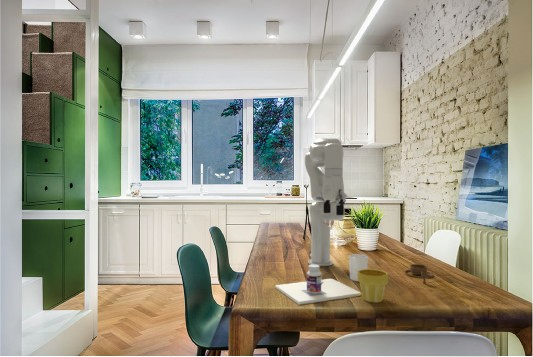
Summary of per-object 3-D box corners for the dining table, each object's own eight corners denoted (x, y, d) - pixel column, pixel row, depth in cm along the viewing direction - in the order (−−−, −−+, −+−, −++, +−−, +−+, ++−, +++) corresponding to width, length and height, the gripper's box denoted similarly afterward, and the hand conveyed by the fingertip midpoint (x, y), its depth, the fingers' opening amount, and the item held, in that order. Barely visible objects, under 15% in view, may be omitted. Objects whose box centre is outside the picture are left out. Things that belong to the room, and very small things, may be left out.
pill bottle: (303, 291, 131) (303, 265, 131) (312, 288, 135) (312, 263, 135) (315, 295, 127) (315, 268, 127) (324, 292, 131) (324, 265, 131)
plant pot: (364, 293, 133) (364, 267, 133) (392, 299, 127) (392, 271, 127) (352, 300, 125) (352, 272, 125) (381, 307, 119) (381, 277, 119)
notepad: (275, 287, 139) (275, 285, 139) (331, 280, 149) (331, 278, 149) (298, 304, 121) (298, 301, 121) (361, 295, 130) (361, 292, 130)
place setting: (444, 278, 157) (444, 264, 157) (428, 288, 142) (428, 273, 142) (405, 270, 169) (405, 258, 169) (386, 279, 154) (386, 265, 154)
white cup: (354, 282, 147) (354, 258, 147) (345, 277, 154) (345, 254, 154) (371, 281, 149) (371, 257, 149) (361, 276, 156) (361, 253, 156)
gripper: (315, 173, 155) (315, 212, 155) (337, 172, 139) (337, 216, 139) (329, 173, 157) (329, 211, 157) (353, 173, 141) (353, 215, 141)
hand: (333, 214), depth 148 cm, fingers open, 9 cm apart
